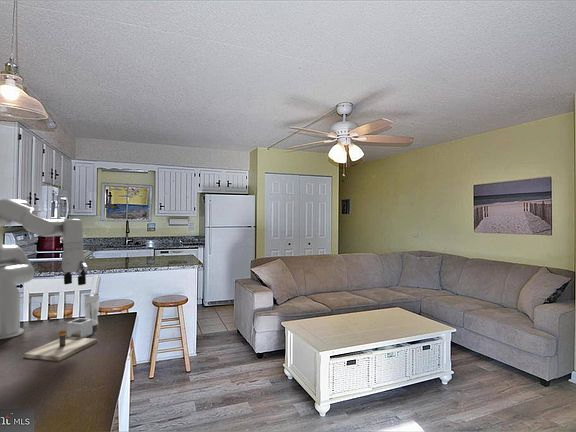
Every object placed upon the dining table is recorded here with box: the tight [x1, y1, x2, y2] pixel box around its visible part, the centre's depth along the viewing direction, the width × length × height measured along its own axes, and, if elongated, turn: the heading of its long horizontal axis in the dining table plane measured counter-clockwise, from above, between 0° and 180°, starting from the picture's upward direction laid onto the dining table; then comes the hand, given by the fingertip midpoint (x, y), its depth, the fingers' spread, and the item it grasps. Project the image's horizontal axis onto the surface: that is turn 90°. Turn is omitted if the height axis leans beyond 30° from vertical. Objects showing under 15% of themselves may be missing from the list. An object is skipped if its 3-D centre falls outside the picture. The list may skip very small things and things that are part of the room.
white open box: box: [66, 317, 94, 338], centre depth 152 cm, size 7×7×7 cm
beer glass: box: [82, 293, 100, 327], centre depth 168 cm, size 7×7×15 cm
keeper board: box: [23, 329, 98, 362], centre depth 136 cm, size 16×19×8 cm
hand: (75, 284), depth 151 cm, fingers open, 9 cm apart
